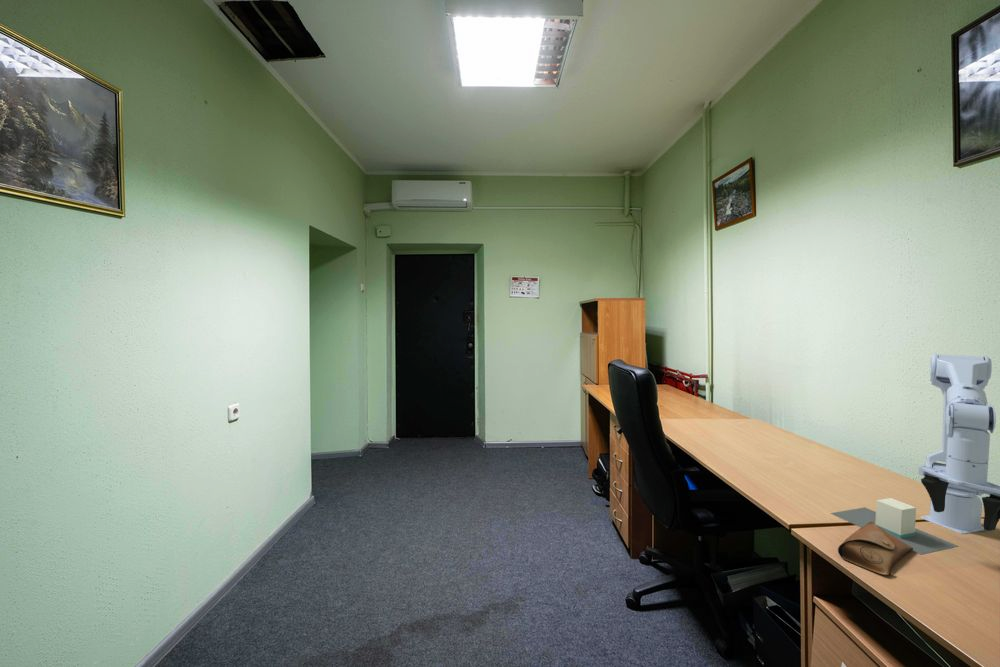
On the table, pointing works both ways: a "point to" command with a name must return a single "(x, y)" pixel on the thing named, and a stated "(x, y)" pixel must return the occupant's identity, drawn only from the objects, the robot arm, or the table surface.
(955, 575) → the table surface
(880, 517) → the cream block
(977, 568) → the table surface
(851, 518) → the rubber mat
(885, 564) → the sunglasses case
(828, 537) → the table surface
